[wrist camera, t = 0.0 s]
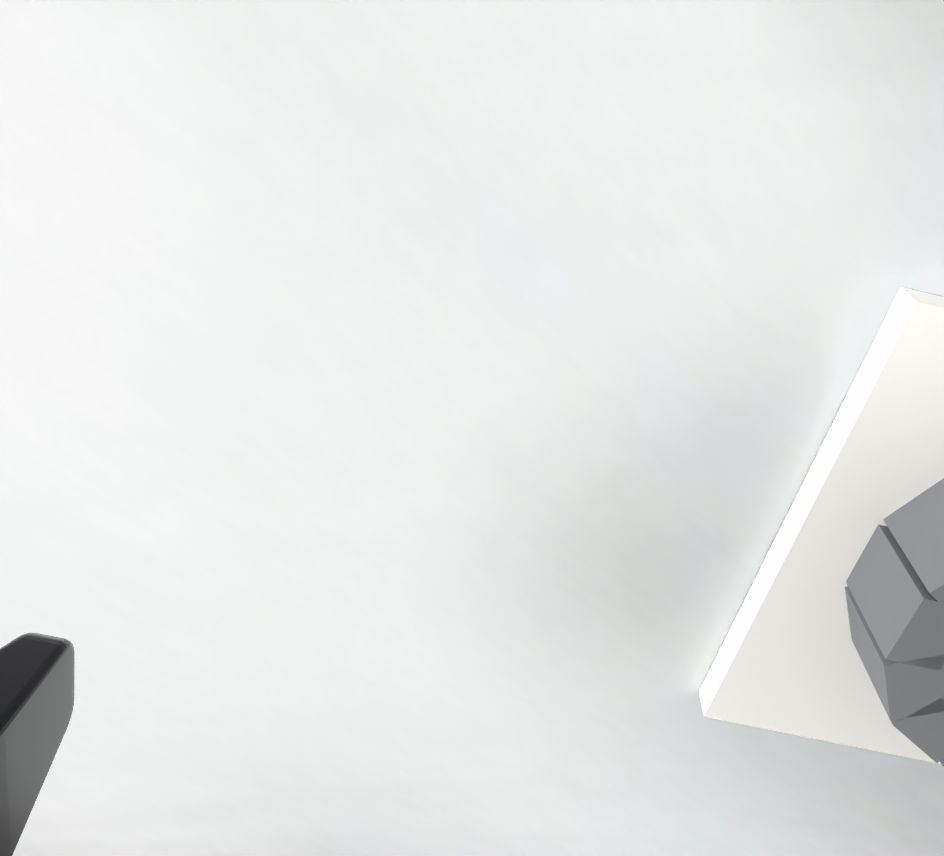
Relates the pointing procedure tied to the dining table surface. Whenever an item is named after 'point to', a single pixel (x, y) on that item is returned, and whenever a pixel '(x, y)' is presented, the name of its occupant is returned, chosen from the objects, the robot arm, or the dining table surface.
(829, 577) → the socket plate
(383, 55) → the dining table surface
